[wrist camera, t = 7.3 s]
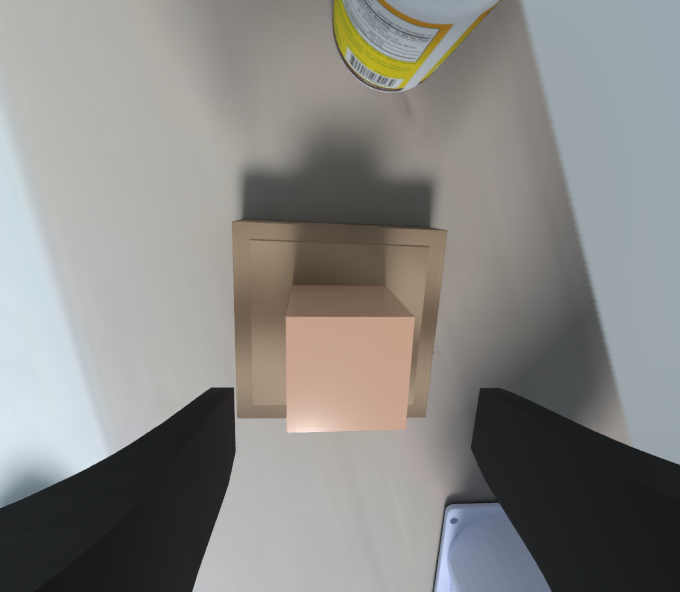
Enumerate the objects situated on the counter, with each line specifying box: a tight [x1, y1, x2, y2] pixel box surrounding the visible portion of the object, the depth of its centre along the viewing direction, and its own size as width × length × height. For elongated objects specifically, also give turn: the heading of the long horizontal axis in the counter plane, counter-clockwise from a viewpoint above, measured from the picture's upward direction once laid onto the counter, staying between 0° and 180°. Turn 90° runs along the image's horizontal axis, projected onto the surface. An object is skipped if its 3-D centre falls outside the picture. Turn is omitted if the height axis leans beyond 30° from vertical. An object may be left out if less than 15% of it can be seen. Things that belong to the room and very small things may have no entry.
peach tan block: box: [286, 285, 415, 432], centre depth 15 cm, size 4×4×5 cm
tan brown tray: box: [232, 219, 447, 418], centre depth 19 cm, size 10×10×3 cm
